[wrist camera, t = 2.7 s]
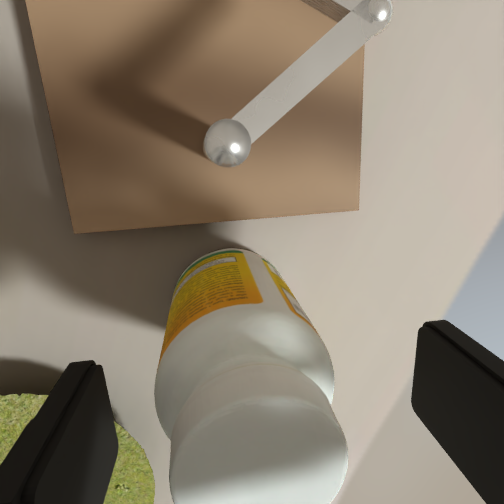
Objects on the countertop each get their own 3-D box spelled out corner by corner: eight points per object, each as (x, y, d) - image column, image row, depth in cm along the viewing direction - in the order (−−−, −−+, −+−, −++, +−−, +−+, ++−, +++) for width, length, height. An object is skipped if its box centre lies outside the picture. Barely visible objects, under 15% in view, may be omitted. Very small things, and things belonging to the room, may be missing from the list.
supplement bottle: (300, 266, 17) (423, 403, 8) (258, 359, 18) (322, 578, 9) (194, 229, 15) (187, 339, 6) (156, 331, 16) (103, 552, 7)
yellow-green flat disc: (178, 515, 20) (176, 552, 18) (-29, 567, 19) (-54, 613, 17) (130, 346, 16) (121, 370, 15) (-124, 397, 15) (-169, 431, 13)
